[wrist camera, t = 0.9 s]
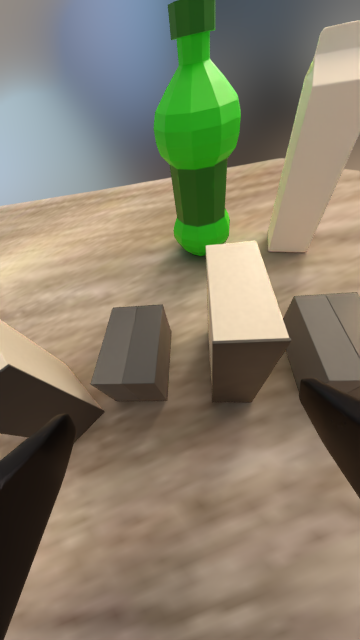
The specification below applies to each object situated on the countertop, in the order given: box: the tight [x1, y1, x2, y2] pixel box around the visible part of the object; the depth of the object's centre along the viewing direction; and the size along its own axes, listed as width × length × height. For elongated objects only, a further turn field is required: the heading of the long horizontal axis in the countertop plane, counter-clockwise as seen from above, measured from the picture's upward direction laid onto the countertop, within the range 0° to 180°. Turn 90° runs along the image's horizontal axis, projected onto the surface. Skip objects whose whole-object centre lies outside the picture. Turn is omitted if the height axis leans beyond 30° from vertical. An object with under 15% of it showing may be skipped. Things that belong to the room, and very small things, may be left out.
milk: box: [268, 20, 360, 252], centre depth 26 cm, size 6×6×22 cm
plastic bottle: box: [154, 0, 241, 256], centre depth 28 cm, size 10×10×25 cm
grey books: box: [91, 292, 360, 401], centre depth 21 cm, size 9×26×6 cm, turn 88°
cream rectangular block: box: [206, 241, 291, 402], centre depth 18 cm, size 9×4×13 cm, turn 178°
